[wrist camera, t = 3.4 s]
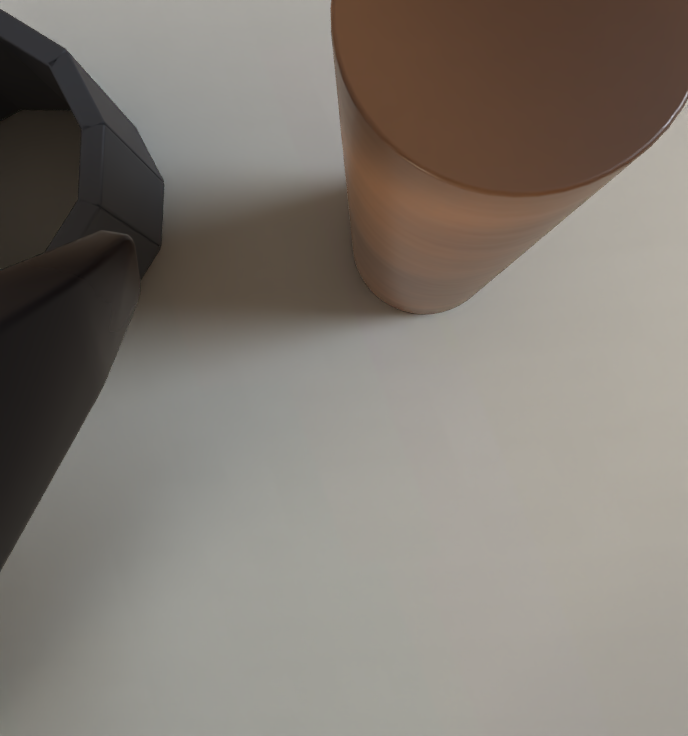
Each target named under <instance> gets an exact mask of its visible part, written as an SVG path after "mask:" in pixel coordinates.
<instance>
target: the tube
mask: <svg viewBox="0 0 688 736" xmlns="http://www.w3.org/2000/svg"><path fill="white" fill-rule="evenodd" d="M21 109H30V110H71V111H72V113H73V115H74V117H75V119H76V121H77V123H78V124H79V126H80V128H81V147H80V167H79V188H78V200H77V202H76V204H75V205H74V207H73V208H72V210H71V212H70V213H69V215H68V216H67V218H66V219H65V221H64V223H63V224H62V226H61V227H60V229H59V231H58V232H57V234H56V235H55V237H54V238H53V240H52V242H51V243H50V245H49V246H48V248H47V250H46V251H45V252H47V251H50V250H52V249H54V248H57V247H59V246H62V245H64V244H67V243H69V242H72V241H74V240H77V239H79V238H82V237H84V236H87V235H89V234H92V233H94V232H97V231H100V230H107V231H112V232H117V233H123V234H127V235H129V236H130V237H131V238H132V239H133V241H134V244H135V248H136V255H137V262H138V269H139V276H140V280H141V278H142V277H143V275H144V274H145V272H146V271H147V269H148V267H149V266H150V264H151V263H152V261H153V259H154V258H155V256H156V255H157V253H158V251H159V250H160V247H159V246H161V241H162V219H163V197H164V183H163V182H164V181H163V179H162V177H161V175H160V173H159V171H158V169H157V167H156V165H155V163H154V161H153V159H152V157H151V156H150V154H149V152H148V150H147V148H146V146H145V144H144V142H143V140H142V138H141V136H140V135H139V133H138V131H137V129H136V127H135V126H134V125H133V124H132V123H131V121H130V120H129V119H128V118H127V117H126V116H125V115H124V114H123V112H122V111H121V110H120V109H119V108H118V107H117V106H116V105H115V104H114V102H113V101H112V100H111V99H110V98H109V97H108V96H107V95H106V93H105V92H104V91H103V90H102V89H101V88H100V87H99V86H98V85H97V83H96V82H95V81H94V80H93V79H92V78H91V77H90V76H89V74H88V73H87V72H86V71H85V70H84V69H83V68H82V67H81V65H80V64H79V63H78V62H77V61H76V60H75V59H74V58H73V57H72V55H71V54H70V53H69V52H68V51H67V50H66V49H65V48H63V47H62V46H60V45H58V44H57V43H55V42H53V41H52V40H50V39H49V38H47V37H45V36H44V35H42V34H40V33H39V32H37V31H36V30H34V29H32V28H31V27H29V26H27V25H26V24H24V23H23V22H21V21H19V20H18V19H16V18H14V17H13V16H11V15H10V14H8V13H6V12H5V11H3V10H1V9H0V121H1V120H3V119H5V118H7V117H8V116H10V115H12V114H14V113H16V112H18V111H19V110H21Z"/></svg>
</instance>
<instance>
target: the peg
mask: <svg viewBox="0 0 688 736" xmlns="http://www.w3.org/2000/svg"><path fill="white" fill-rule="evenodd" d="M331 34H332V45H333V55H334V65H335V75H336V85H337V95H338V105H339V115H340V126H341V136H342V146H343V156H344V166H345V176H346V186H347V196H348V206H349V217H350V227H351V237H352V247H353V254H354V260H355V263H356V266H357V269H358V271H359V273H360V276H361V277H362V279H363V281H364V282H365V284H366V285H367V286H368V288H369V289H370V290H371V291H372V292H373V293H374V294H375V295H376V296H377V297H378V298H379V299H381V300H382V301H384V302H385V303H387V304H388V305H390V306H392V307H394V308H397V309H399V310H402V311H405V312H410V313H416V314H434V313H440V312H444V311H447V310H450V309H452V308H455V307H457V306H459V305H461V304H462V303H464V302H465V301H467V300H468V299H469V298H471V297H472V296H473V295H474V294H476V293H477V292H478V291H479V290H480V289H482V288H483V287H484V286H485V285H486V284H488V283H489V282H490V281H491V280H492V279H493V278H495V277H496V276H497V275H498V274H499V273H501V272H502V271H503V270H504V269H505V268H507V267H508V266H509V265H510V264H511V263H513V262H514V261H515V260H516V259H517V258H519V257H520V256H521V255H522V254H523V253H524V252H526V251H527V250H528V249H529V248H530V247H532V246H533V245H534V244H535V243H536V242H538V241H539V240H540V239H541V238H542V237H544V236H545V235H546V234H547V233H548V232H550V231H551V230H552V229H553V228H554V227H555V226H557V225H558V224H559V223H560V222H561V221H563V220H564V219H565V218H566V217H567V216H569V215H570V214H571V213H572V212H573V211H575V210H576V209H577V208H578V207H579V206H581V205H582V204H583V203H584V202H585V201H586V200H588V199H589V198H590V197H591V196H592V195H594V194H595V193H596V192H597V191H598V190H600V189H601V188H602V187H603V186H604V185H606V184H607V183H608V182H609V181H610V180H612V179H613V178H614V177H615V176H616V175H617V174H619V173H620V172H621V171H622V170H623V169H625V168H626V167H627V166H628V165H629V164H631V163H632V162H633V161H634V160H635V159H637V158H638V157H639V156H640V155H641V154H643V153H644V152H645V151H646V150H647V149H649V148H650V147H651V146H652V145H653V144H654V143H655V142H656V141H657V140H658V139H659V137H660V136H661V135H662V134H663V133H664V132H665V131H666V130H667V129H668V128H669V127H670V125H671V124H672V122H673V121H674V120H675V118H676V117H677V116H678V114H679V113H680V111H681V110H682V109H683V107H684V105H685V103H686V101H687V100H688V0H331Z"/></svg>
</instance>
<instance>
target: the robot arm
mask: <svg viewBox="0 0 688 736" xmlns="http://www.w3.org/2000/svg"><path fill="white" fill-rule="evenodd" d="M140 289H141V284H140V276H139V269H138V262H137V255H136V248H135V244H134V241H133V239H132V238H131V237H130V236H129V235H127V234H123V233H117V232H112V231H107V230H100V231H97V232H94V233H92V234H89V235H87V236H84V237H82V238H79V239H77V240H74V241H72V242H69V243H67V244H64V245H62V246H59V247H57V248H54V249H52V250H50V251H47V252H45V253H42V254H40V255H37V256H35V257H32V258H30V259H27V260H25V261H22V262H20V263H17V264H15V265H12V266H10V267H7V268H5V269H2V270H0V571H1V570H2V568H3V566H4V564H5V563H6V561H7V559H8V557H9V555H10V554H11V552H12V550H13V548H14V546H15V545H16V543H17V541H18V539H19V537H20V536H21V534H22V532H23V530H24V528H25V527H26V525H27V523H28V521H29V519H30V518H31V516H32V514H33V512H34V511H35V509H36V507H37V505H38V503H39V502H40V500H41V498H42V496H43V494H44V493H45V491H46V489H47V487H48V485H49V484H50V482H51V480H52V478H53V476H54V475H55V473H56V471H57V469H58V467H59V466H60V464H61V462H62V460H63V458H64V457H65V455H66V453H67V451H68V450H69V448H70V446H71V444H72V442H73V441H74V439H75V437H76V435H77V433H78V432H79V430H80V428H81V426H82V424H83V423H84V421H85V419H86V417H87V415H88V414H89V412H90V410H91V408H92V406H93V405H94V403H95V401H96V399H97V397H98V395H99V393H100V392H101V390H102V388H103V386H104V383H105V381H106V379H107V377H108V374H109V372H110V370H111V367H112V365H113V362H114V360H115V357H116V355H117V352H118V350H119V347H120V345H121V342H122V340H123V337H124V335H125V332H126V330H127V327H128V325H129V322H130V320H131V317H132V315H133V312H134V310H135V308H136V305H137V303H138V300H139V296H140Z"/></svg>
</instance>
